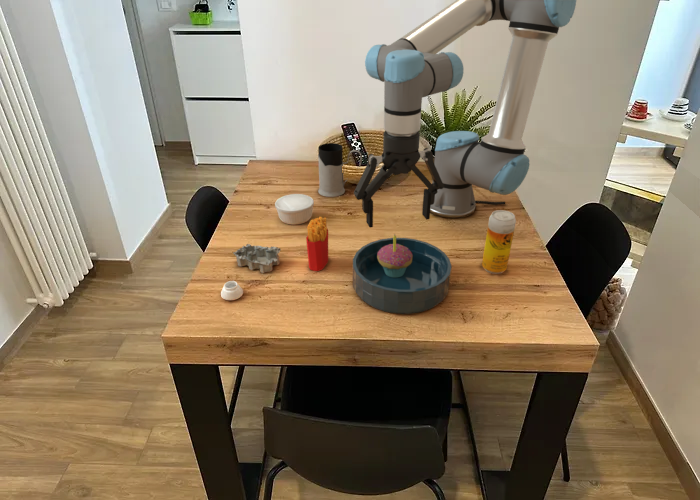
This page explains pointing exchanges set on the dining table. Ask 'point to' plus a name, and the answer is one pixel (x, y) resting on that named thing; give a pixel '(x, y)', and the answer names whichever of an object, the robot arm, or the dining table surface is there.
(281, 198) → the ramekin
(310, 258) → the french fries
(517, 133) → the robot arm
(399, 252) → the cupcake
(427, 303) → the bowl
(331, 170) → the glass holder
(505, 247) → the beer can
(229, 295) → the lidless jar
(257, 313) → the dining table surface
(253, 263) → the egg carton
